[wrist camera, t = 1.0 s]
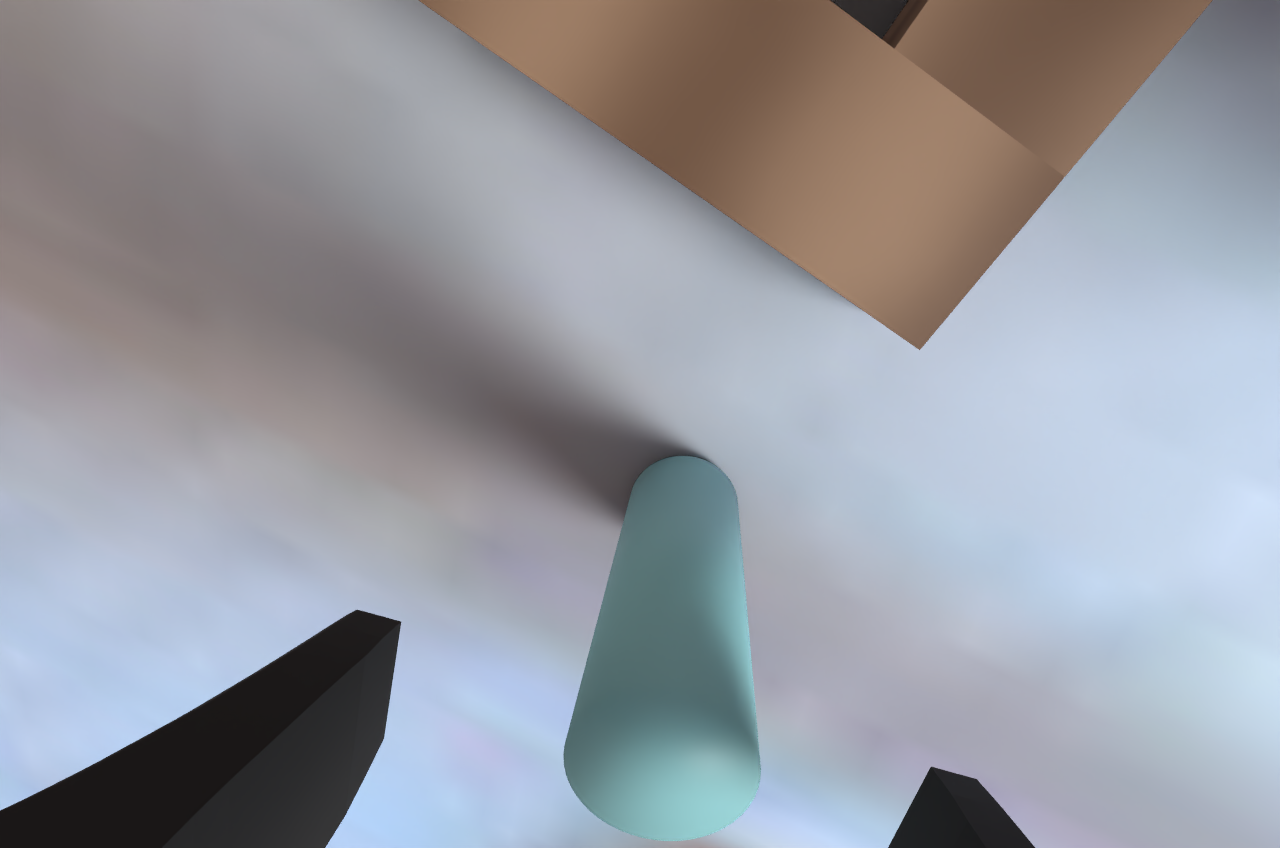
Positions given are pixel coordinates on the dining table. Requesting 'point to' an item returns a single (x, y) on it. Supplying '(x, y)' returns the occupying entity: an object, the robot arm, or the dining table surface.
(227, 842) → the robot arm
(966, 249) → the socket block
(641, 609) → the peg
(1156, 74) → the dining table surface
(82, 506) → the dining table surface
